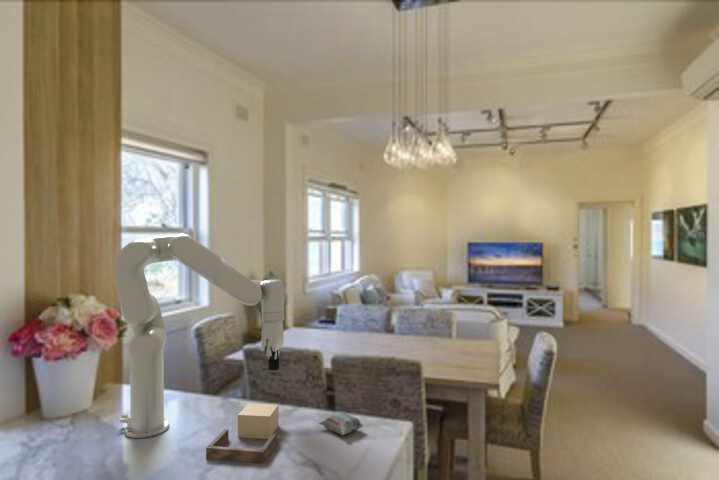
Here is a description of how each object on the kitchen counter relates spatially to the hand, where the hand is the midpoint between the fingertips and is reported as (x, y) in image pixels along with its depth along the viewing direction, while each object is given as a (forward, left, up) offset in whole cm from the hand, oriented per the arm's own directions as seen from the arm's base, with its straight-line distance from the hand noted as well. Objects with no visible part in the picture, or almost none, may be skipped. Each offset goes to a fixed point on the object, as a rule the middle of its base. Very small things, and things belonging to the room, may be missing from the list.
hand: (274, 369), depth 151 cm
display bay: (0, -25, -15) cm, 30 cm away
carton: (0, -13, -16) cm, 20 cm away
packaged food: (+25, -9, -16) cm, 31 cm away
